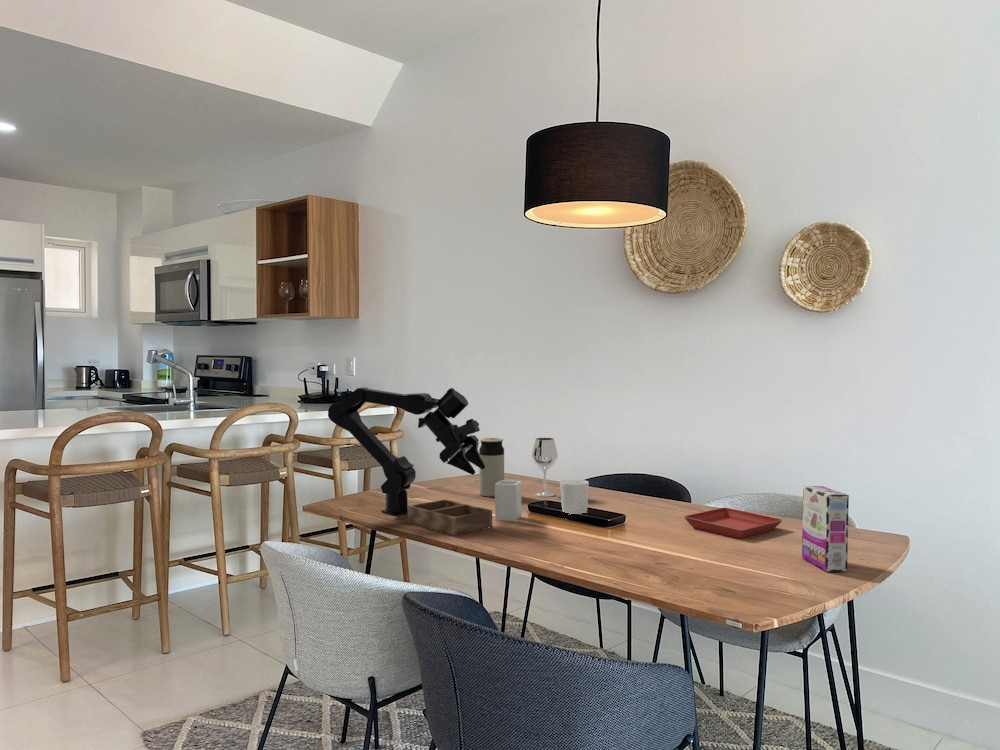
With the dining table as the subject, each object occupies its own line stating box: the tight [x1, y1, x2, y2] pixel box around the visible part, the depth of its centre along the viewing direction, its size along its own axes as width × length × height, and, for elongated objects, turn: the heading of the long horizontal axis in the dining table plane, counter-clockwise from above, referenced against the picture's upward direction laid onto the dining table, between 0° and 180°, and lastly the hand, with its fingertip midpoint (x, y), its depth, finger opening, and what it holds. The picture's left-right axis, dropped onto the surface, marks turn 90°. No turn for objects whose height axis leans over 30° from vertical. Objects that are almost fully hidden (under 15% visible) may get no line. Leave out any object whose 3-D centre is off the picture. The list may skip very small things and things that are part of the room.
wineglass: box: [531, 437, 558, 498], centre depth 244 cm, size 8×8×18 cm
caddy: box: [494, 479, 522, 522], centre depth 212 cm, size 6×6×10 cm
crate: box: [407, 498, 493, 536], centre depth 205 cm, size 20×13×5 cm, turn 42°
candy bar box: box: [801, 485, 850, 573], centre depth 165 cm, size 11×5×16 cm, turn 5°
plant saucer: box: [683, 507, 783, 539], centre depth 199 cm, size 18×18×3 cm
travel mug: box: [478, 437, 505, 498], centre depth 245 cm, size 8×8×18 cm
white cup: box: [559, 478, 590, 520], centre depth 212 cm, size 8×8×10 cm
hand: (479, 470), depth 213 cm, fingers open, 9 cm apart
